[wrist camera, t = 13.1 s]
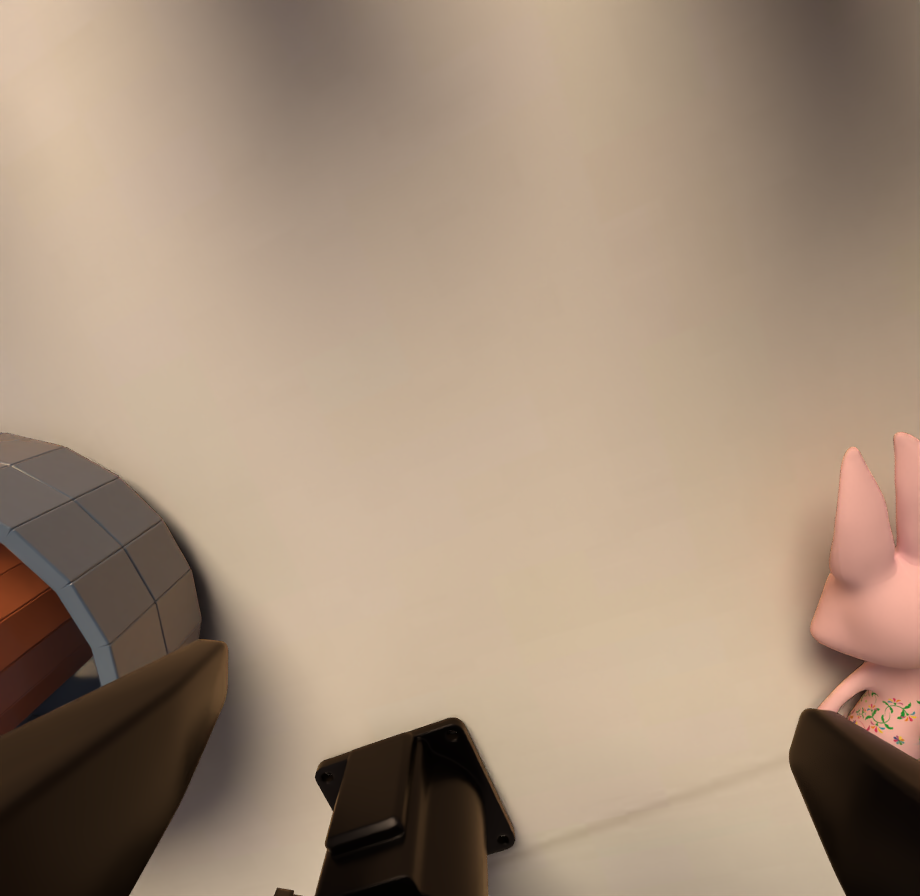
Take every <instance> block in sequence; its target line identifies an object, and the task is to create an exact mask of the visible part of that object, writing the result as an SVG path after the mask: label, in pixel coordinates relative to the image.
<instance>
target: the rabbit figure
mask: <svg viewBox="0 0 920 896" xmlns="http://www.w3.org/2000/svg"><path fill="white" fill-rule="evenodd" d="M893 441H894V453H895V490H896V531H897V544H896V546H895V545H894V539H893V535H892V531H891V527H890V523H889V517H888V511H887V506H886V502H885V499H884V497H883V494H882V492H881V490H880V488H879V486H878V484H877V482H876V481H875V479H874V477H873V476H872V474H871V472H870V470H869V469H868V467H867V465H866V463H865V461H864V459H863V457H862V455H861V453H860V451H859V450H858V449H857V448H856V447H851V448H849V449H848V450H847V451H846V453H845V455H844V457H843V460H842V465H841V470H840V481H839V492H838V502H837V509H836V517H835V525H834V536H833V541H832V546H831V550H830V558H829V568H830V571H831V573H830V574H829V576H828V578H827V580H826V583H825V586H824V589H823V592H822V595H821V597H820V600H819V603H818V606H817V609H816V612H815V614H814V617H813V619H812V622H811V626H810V632H811V634H812V636H813V637H814V638H815V639H816V640H817V641H818V642H820V643H821V644H823V645H825V646H827V647H829V648H831V649H833V650H836V651H838V652H841V653H844V654H847V655H850V656H852V657H855V658H858V659H861V660H864V661H865V662H864V663H863V664H862V665H861V666H860V667H859V668H858V669H856V670H855V671H854V672H853V673H852V674H850V675H849V676H848V677H847V678H846V679H845V680H844V681H843V682H842V683H841V684H839V685H838V686H837V687H836V688H835V690H834V691H833V692H832V693H831V694H830V695H829V696H828V697H827V698H826V699H825V700H824V701H823V703H822V704H821V705H820V706H819V707H818V709H821V710H830V711H834V712H836V713H837V711H838V710H839V708H840V707H841V706H842V705H843V704H844V703H845V702H846V701H848V700H849V699H850V698H851V697H853V696H854V695H855V694H857V693H858V692H860V691H863V690H867V691H866V692H865V693H864V694H863V696H862V697H861V698H860V700H859V701H858V703H857V704H856V706H855V707H854V708H853V710H852V711H851V712H850V714H849V716H848V718H847V719H848V720H850V721H852V722H854V723H855V724H857V725H859V726H860V727H862V728H864V729H866V730H867V731H869V732H871V733H872V734H874V735H876V736H878V737H879V738H881V739H883V740H884V741H886V742H888V743H889V744H891V745H893V746H895V747H896V748H898V749H900V750H901V751H903V752H905V753H907V754H908V755H910V756H912V757H913V758H915V759H917V760H919V761H920V441H919V440H918V439H917V438H915V437H914V436H912V435H910V434H908V433H904V432H898V433H896V434H895V435H894V439H893Z"/></svg>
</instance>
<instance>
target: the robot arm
mask: <svg viewBox="0 0 920 896" xmlns="http://www.w3.org/2000/svg"><path fill="white" fill-rule="evenodd" d="M227 688H228V647H227V644H226V643H225V642H223V641H216V640H207V639H199V640H196V641H194V642H192V643H190V644H188V645H186V646H184V647H182V648H180V649H178V650H176V651H173V652H171V653H169V654H167V655H165V656H163V657H161V658H159V659H157V660H155V661H153V662H151V663H149V664H147V665H145V666H143V667H141V668H139V669H136V670H134V671H132V672H130V673H128V674H126V675H124V676H122V677H120V678H118V679H116V680H114V681H112V682H110V683H108V684H106V685H104V686H102V687H100V688H97V689H95V690H93V691H91V692H89V693H87V694H85V695H83V696H81V697H79V698H77V699H75V700H73V701H71V702H69V703H67V704H65V705H62V706H60V707H58V708H56V709H54V710H52V711H50V712H48V713H46V714H44V715H42V716H40V717H38V718H36V719H34V720H32V721H30V722H27V723H25V724H23V725H21V726H19V727H17V728H15V729H13V730H11V731H9V732H7V733H5V734H3V735H1V736H0V896H129V895H130V893H131V891H132V889H133V888H134V886H135V884H136V882H137V881H138V879H139V877H140V875H141V873H142V872H143V870H144V868H145V866H146V864H147V863H148V861H149V859H150V857H151V856H152V854H153V852H154V850H155V848H156V847H157V845H158V843H159V841H160V839H161V838H162V836H163V834H164V832H165V831H166V829H167V827H168V825H169V823H170V822H171V820H172V818H173V816H174V814H175V812H176V810H177V809H178V807H179V805H180V803H181V801H182V799H183V796H184V794H185V792H186V790H187V788H188V786H189V783H190V781H191V779H192V776H193V774H194V772H195V770H196V767H197V765H198V763H199V760H200V758H201V756H202V753H203V751H204V749H205V747H206V744H207V742H208V740H209V737H210V735H211V733H212V730H213V728H214V726H215V723H216V721H217V719H218V717H219V714H220V712H221V710H222V707H223V705H224V702H225V699H226V695H227ZM450 730H455V731H457V733H454V734H452V733H449V732H448V731H450ZM789 763H790V767H791V770H792V773H793V775H794V778H795V780H796V782H797V785H798V787H799V789H800V792H801V794H802V797H803V799H804V801H805V804H806V806H807V809H808V811H809V813H810V816H811V818H812V820H813V823H814V825H815V828H816V830H817V832H818V835H819V837H820V840H821V842H822V844H823V847H824V849H825V852H826V854H827V856H828V858H829V861H830V863H831V865H832V867H833V870H834V872H835V874H836V876H837V878H838V880H839V882H840V884H841V886H842V888H843V890H844V892H845V894H846V896H920V761H919V760H917V759H915V758H913V757H912V756H910V755H908V754H907V753H905V752H903V751H901V750H900V749H898V748H896V747H895V746H893V745H891V744H889V743H888V742H886V741H884V740H883V739H881V738H879V737H878V736H876V735H874V734H872V733H871V732H869V731H867V730H866V729H864V728H862V727H860V726H859V725H857V724H855V723H854V722H852V721H850V720H848V719H847V718H845V717H843V716H842V715H840V714H838V713H836V712H834V711H830V710H821V709H812V708H808V709H806V710H804V711H803V712H802V713H801V715H800V718H799V721H798V724H797V728H796V731H795V734H794V737H793V741H792V744H791V747H790V751H789ZM326 772H328V773H331V774H332V775H328V774H326ZM315 779H316V782H317V784H318V785H319V787H320V789H321V791H322V792H323V794H324V796H325V798H326V800H327V801H328V803H329V805H330V807H331V808H332V810H333V814H332V818H331V822H330V825H329V829H328V833H327V837H326V840H325V847H326V848H327V851H326V855H325V859H324V863H323V866H322V870H321V874H320V878H319V881H318V885H317V889H316V893H315V896H488V867H487V855H489V854H493V853H496V852H499V851H502V850H506V849H508V848H510V847H512V846H513V844H514V842H515V833H514V828H513V826H512V823H511V821H510V819H509V817H508V815H507V813H506V811H505V809H504V807H503V805H502V802H501V800H500V798H499V796H498V794H497V792H496V790H495V788H494V786H493V784H492V781H491V779H490V777H489V775H488V773H487V771H486V769H485V767H484V765H483V763H482V760H481V758H480V756H479V754H478V752H477V750H476V748H475V746H474V744H473V742H472V739H471V737H470V735H469V733H468V731H467V729H466V727H465V725H464V723H463V722H462V721H461V720H459V719H458V718H448V719H445V720H442V721H439V722H436V723H433V724H430V725H427V726H424V727H421V728H418V729H415V730H412V731H409V732H406V733H402V734H399V735H396V736H393V737H390V738H387V739H384V740H381V741H378V742H375V743H372V744H369V745H366V746H363V747H361V748H358V749H355V750H352V751H350V752H348V753H345V754H342V755H339V756H336V757H333V758H330V759H327V760H324V761H322V762H321V763H320V764H319V765H318V768H317V771H316V775H315ZM500 835H506V836H500ZM274 896H301V895H295V894H294V890H288V889H282V888H277V889H276V892H275V894H274Z"/></svg>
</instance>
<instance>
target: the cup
mask: <svg viewBox="0 0 920 896" xmlns="http://www.w3.org/2000/svg"><path fill="white" fill-rule="evenodd" d="M92 658H93V654H92V650H91V648H90V646H89V645H88V643H87V641H86V640H85V638H84V637H83V635H82V633H81V632H80V630H79V629H78V627H77V626H76V624H75V622H74V621H73V619H72V618H71V616H70V614H69V613H68V611H67V610H66V608H65V607H64V605H63V603H62V602H61V600H60V599H59V597H58V595H57V594H56V592H55V591H53V590H52V589H51V588H50V587H49V586H48V585H47V584H46V583H45V582H44V581H42V580H41V579H40V578H39V577H38V576H37V575H36V574H35V573H34V572H33V571H31V570H30V569H29V568H28V567H27V566H26V565H25V564H24V563H23V562H22V561H20V560H19V559H18V558H17V557H16V556H15V555H14V554H13V553H12V552H11V551H9V550H8V549H7V548H6V547H5V546H4V545H3V544H1V543H0V736H1V735H3V734H5V733H7V732H9V731H11V730H13V729H15V728H17V727H19V726H20V725H22V724H23V723H24V722H25V721H26V720H27V719H28V718H29V717H30V716H31V715H32V714H33V713H34V712H36V711H37V710H38V709H39V708H40V707H41V706H42V705H43V704H44V703H45V702H46V701H47V700H48V699H50V698H51V697H52V696H53V695H54V694H55V693H56V692H57V691H58V690H59V689H60V688H61V687H62V686H64V685H65V684H66V683H67V682H68V681H69V680H70V679H71V678H72V677H73V676H74V675H75V674H76V673H77V672H78V671H79V670H80V669H81V668H82V667H83V666H84V665H85V664H86V663H87V662H88V661H89V660H91V659H92Z"/></svg>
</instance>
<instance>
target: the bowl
mask: <svg viewBox="0 0 920 896" xmlns="http://www.w3.org/2000/svg"><path fill="white" fill-rule="evenodd" d="M0 543H1V544H3V545H4V546H5V547H6V548H7V549H8V550H9V551H11V552H12V553H13V554H14V555H15V556H16V557H17V558H18V559H19V560H20V561H22V562H23V563H24V564H25V565H26V566H27V567H28V568H29V569H30V570H31V571H33V572H34V573H35V574H36V575H37V576H38V577H39V578H40V579H41V580H42V581H44V582H45V583H46V584H47V585H48V586H49V587H50V588H51V589H52V590H53V591H55V592H56V594H57V595H58V597H59V599H60V600H61V602H62V603H63V605H64V607H65V608H66V610H67V611H68V613H69V614H70V616H71V618H72V619H73V621H74V622H75V624H76V626H77V627H78V629H79V630H80V632H81V633H82V635H83V637H84V638H85V640H86V641H87V643H88V645H89V646H90V648H91V650H92V654H93V658H92V659H91V660H89V661H88V662H87V663H86V664H85V665H84V666H83V667H82V668H81V669H80V670H79V671H78V672H77V673H76V674H75V675H74V676H73V677H72V678H71V679H70V680H69V681H68V682H67V683H66V684H65V685H64V686H62V687H61V688H60V689H59V690H58V691H57V692H56V693H55V694H54V695H53V696H52V697H51V698H50V699H48V700H47V701H46V702H45V703H44V704H43V705H42V706H41V707H40V708H39V709H38V710H37V711H36V712H34V713H33V714H32V715H31V716H30V717H29V718H28V719H27V720H26V721H25V722H24V723H23V724H25V723H27V722H30V721H32V720H34V719H36V718H38V717H40V716H42V715H44V714H46V713H48V712H50V711H52V710H54V709H56V708H58V707H60V706H62V705H65V704H67V703H69V702H71V701H73V700H75V699H77V698H79V697H81V696H83V695H85V694H87V693H89V692H91V691H93V690H95V689H97V688H100V687H102V686H104V685H106V684H108V683H110V682H112V681H114V680H116V679H118V678H120V677H122V676H124V675H126V674H128V673H130V672H132V671H134V670H136V669H139V668H141V667H143V666H145V665H147V664H149V663H151V662H153V661H155V660H157V659H159V658H161V657H163V656H165V655H167V654H169V653H171V652H173V651H176V650H178V649H180V648H182V647H184V646H186V645H188V644H190V643H192V642H194V641H196V640H199V635H200V628H201V619H202V617H201V613H200V608H199V603H198V598H197V593H196V588H195V583H194V579H193V574H192V570H191V569H190V566H189V564H188V562H187V561H186V559H185V557H184V555H183V554H182V552H181V550H180V548H179V547H178V545H177V543H176V541H175V539H174V538H173V536H172V534H171V532H170V531H169V529H168V527H167V525H166V524H165V522H164V521H163V520H162V518H161V517H160V516H159V515H158V514H157V513H156V512H155V511H154V510H153V509H152V508H151V507H150V506H149V505H148V504H147V503H146V502H145V501H144V500H143V499H142V498H141V497H140V496H139V495H138V494H137V493H136V492H135V491H134V490H133V489H132V488H131V487H130V486H129V485H128V484H127V483H126V482H125V481H124V480H123V479H121V478H119V476H118V475H116V474H114V473H112V472H110V471H109V470H107V469H105V468H103V467H101V466H100V465H98V464H96V463H94V462H92V461H91V460H89V459H87V458H85V457H83V456H82V455H80V454H78V453H76V452H74V451H72V450H71V449H69V448H67V447H64V446H61V445H56V444H52V443H48V442H43V441H39V440H35V439H31V438H26V437H22V436H18V435H14V434H9V433H0ZM23 724H22V725H23ZM20 726H21V725H20Z"/></svg>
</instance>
